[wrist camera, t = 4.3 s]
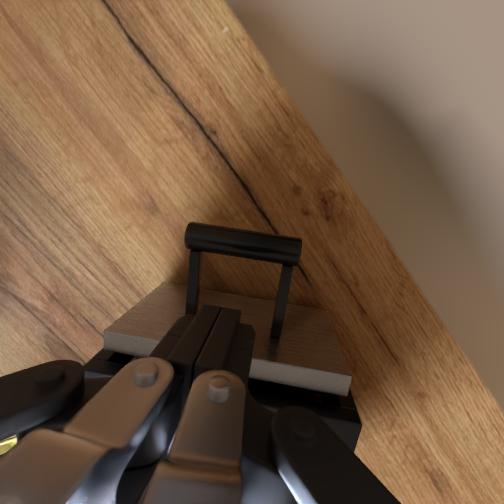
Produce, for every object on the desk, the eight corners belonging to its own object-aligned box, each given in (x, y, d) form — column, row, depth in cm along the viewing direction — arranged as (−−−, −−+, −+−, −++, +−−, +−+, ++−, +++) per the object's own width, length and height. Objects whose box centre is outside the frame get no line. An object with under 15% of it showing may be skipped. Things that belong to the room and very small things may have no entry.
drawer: (167, 206, 19) (101, 217, 12) (344, 232, 18) (384, 261, 11) (156, 426, 24) (105, 522, 17) (293, 455, 23) (299, 570, 16)
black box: (160, 295, 21) (79, 368, 13) (328, 325, 20) (363, 425, 12) (153, 439, 25) (87, 569, 17) (294, 469, 24) (302, 624, 16)
